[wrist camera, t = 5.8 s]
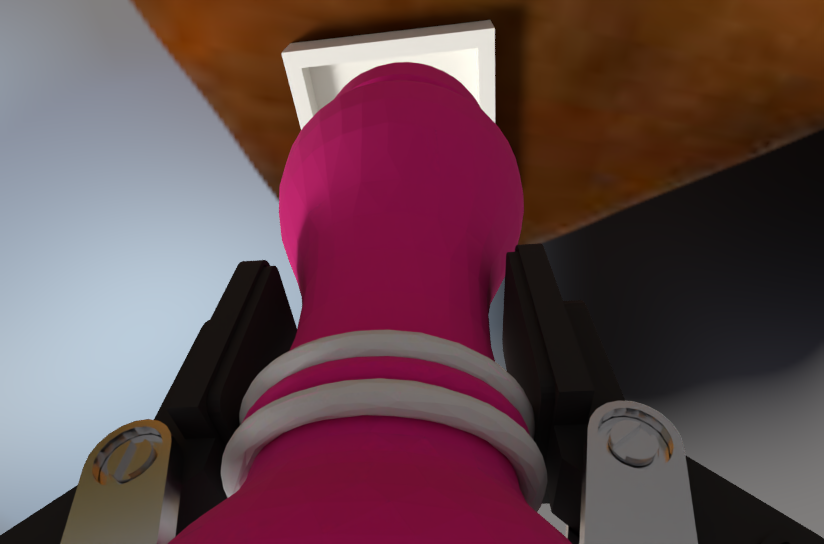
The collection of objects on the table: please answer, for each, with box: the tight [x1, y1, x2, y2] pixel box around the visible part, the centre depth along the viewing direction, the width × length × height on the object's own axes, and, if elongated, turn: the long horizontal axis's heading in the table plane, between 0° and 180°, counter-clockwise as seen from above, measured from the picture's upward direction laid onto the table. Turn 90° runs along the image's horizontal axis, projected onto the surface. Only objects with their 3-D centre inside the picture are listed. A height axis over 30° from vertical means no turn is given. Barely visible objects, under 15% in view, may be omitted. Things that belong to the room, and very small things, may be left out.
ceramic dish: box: [282, 20, 495, 130], centre depth 34 cm, size 13×13×2 cm
